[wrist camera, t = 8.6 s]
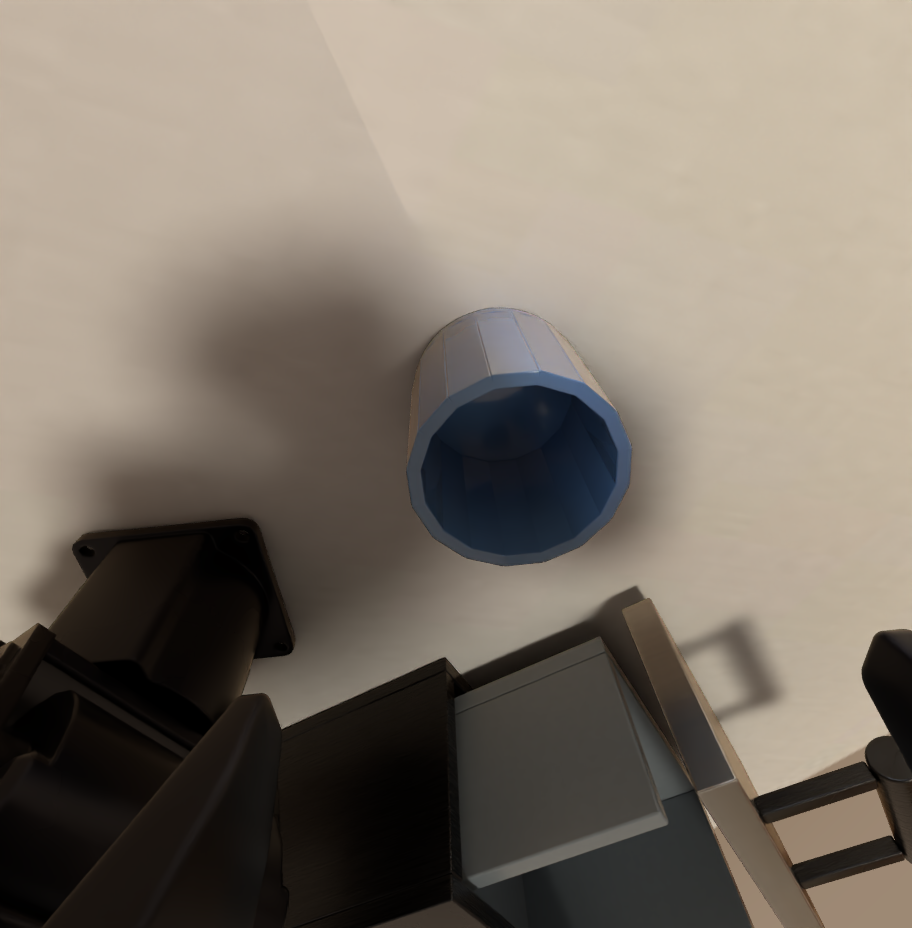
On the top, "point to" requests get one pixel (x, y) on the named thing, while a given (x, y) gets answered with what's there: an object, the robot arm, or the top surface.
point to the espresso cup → (512, 441)
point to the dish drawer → (638, 799)
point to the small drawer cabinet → (378, 811)
